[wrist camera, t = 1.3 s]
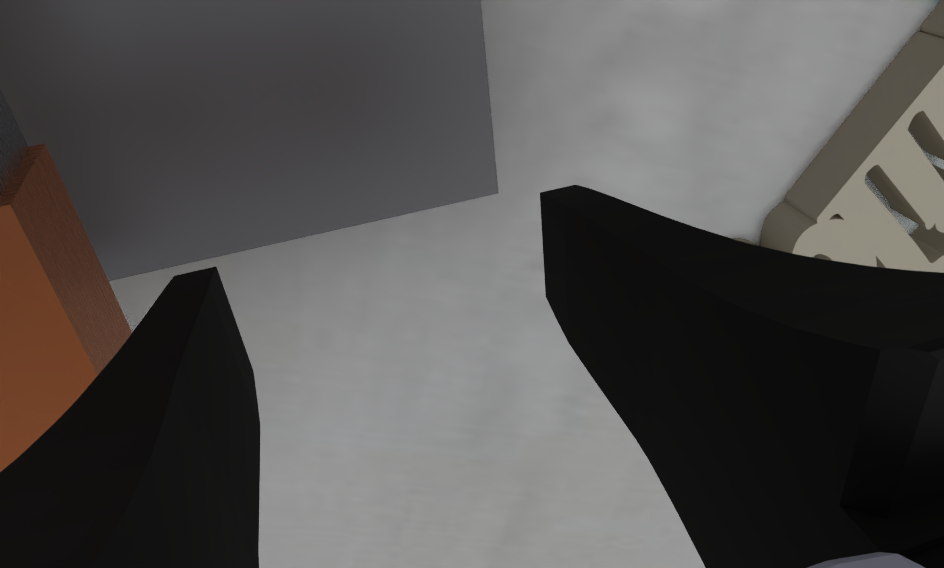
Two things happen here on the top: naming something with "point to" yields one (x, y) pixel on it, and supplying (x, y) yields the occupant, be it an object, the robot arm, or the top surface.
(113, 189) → the mounting board
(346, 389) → the top surface
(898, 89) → the decorative sign
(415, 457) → the top surface
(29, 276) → the valve lever
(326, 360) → the top surface
